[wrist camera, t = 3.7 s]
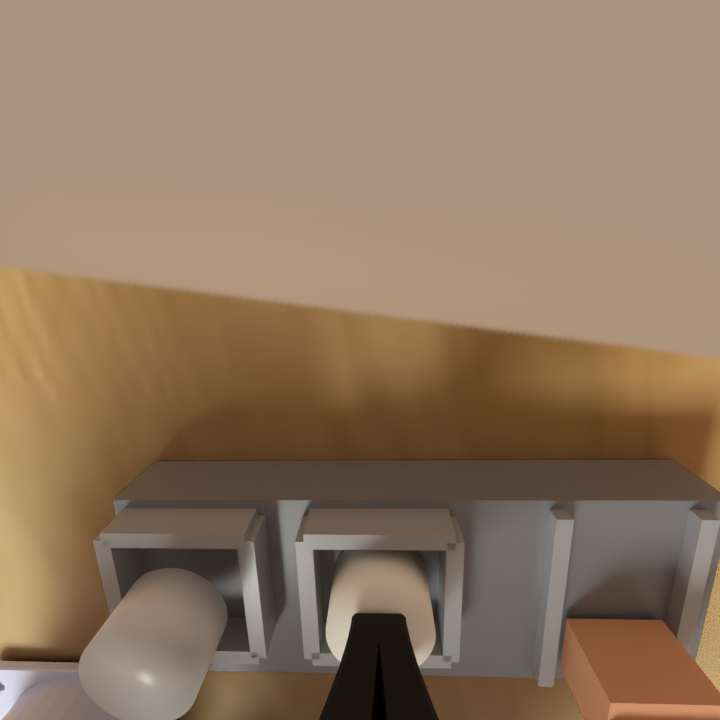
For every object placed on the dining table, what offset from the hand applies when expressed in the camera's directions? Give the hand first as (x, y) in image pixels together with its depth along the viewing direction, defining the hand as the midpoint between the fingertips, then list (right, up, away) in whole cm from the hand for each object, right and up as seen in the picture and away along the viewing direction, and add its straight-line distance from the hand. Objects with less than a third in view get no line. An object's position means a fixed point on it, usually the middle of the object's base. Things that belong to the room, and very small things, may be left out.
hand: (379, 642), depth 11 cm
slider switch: (+8, -2, +2) cm, 8 cm away
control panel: (+1, +1, +5) cm, 5 cm away
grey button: (-6, 0, +1) cm, 6 cm away
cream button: (0, +1, +2) cm, 2 cm away
